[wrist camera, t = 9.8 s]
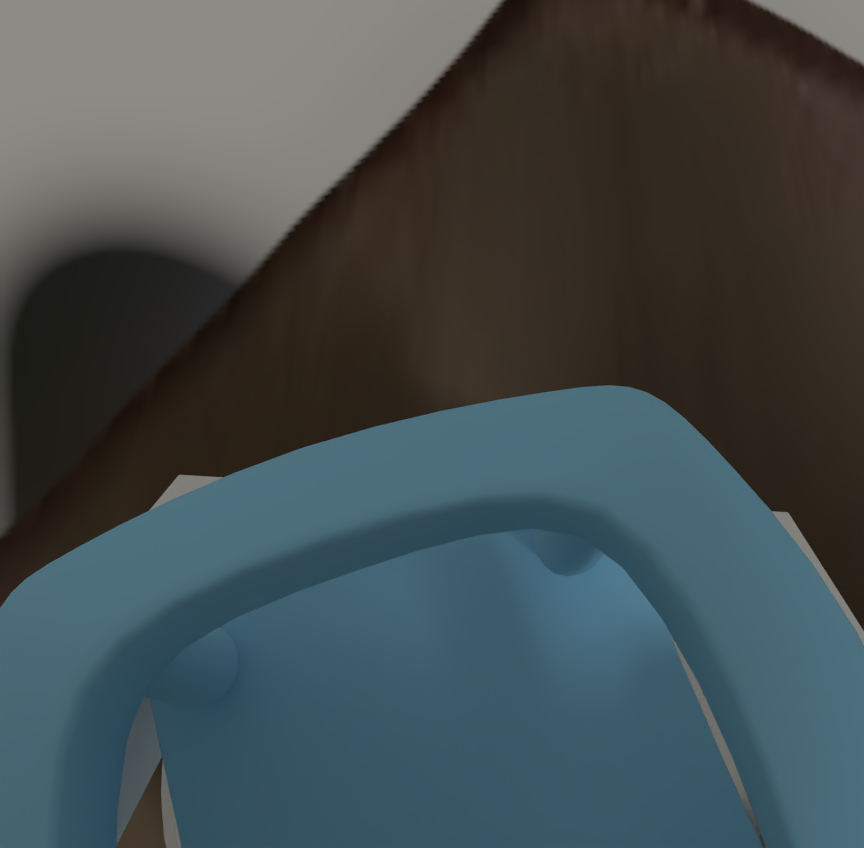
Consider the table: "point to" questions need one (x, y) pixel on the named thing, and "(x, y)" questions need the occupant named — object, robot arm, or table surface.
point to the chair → (446, 649)
